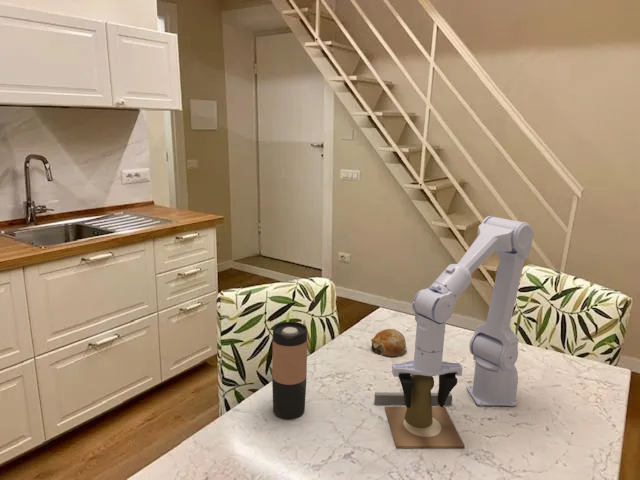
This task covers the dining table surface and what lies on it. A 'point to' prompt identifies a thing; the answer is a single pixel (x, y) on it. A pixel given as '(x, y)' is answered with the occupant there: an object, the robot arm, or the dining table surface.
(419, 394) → the cork
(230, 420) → the dining table surface
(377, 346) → the bread roll
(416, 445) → the walnut board
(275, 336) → the travel mug
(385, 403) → the low wall
